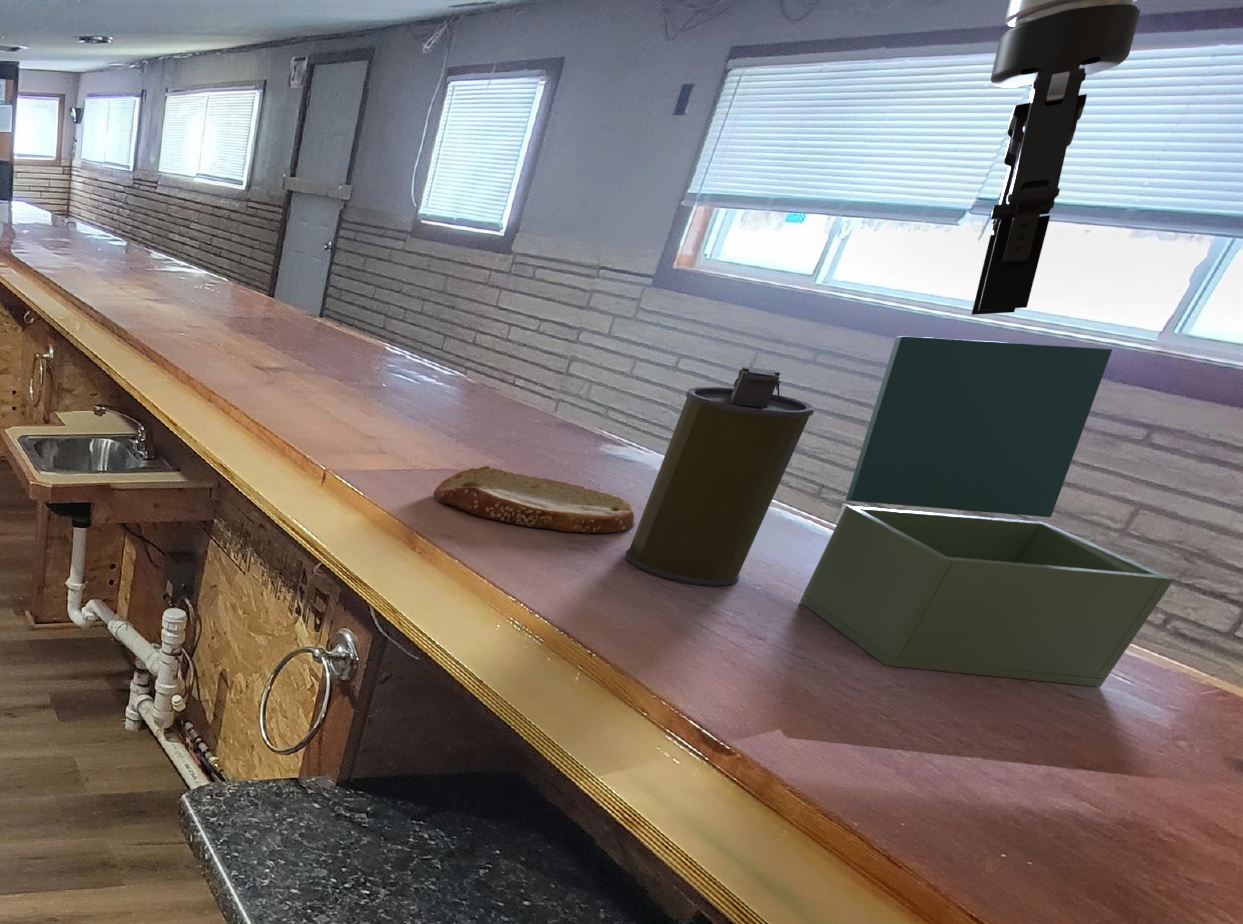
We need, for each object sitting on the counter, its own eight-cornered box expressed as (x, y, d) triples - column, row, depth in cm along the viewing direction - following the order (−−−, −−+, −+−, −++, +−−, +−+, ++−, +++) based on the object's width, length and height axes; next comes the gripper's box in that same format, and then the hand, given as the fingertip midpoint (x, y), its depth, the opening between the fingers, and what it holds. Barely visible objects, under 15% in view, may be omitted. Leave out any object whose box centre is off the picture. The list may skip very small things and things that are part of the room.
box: (1100, 687, 81) (1175, 579, 76) (884, 665, 83) (943, 559, 78) (986, 619, 93) (1044, 521, 88) (799, 601, 95) (845, 505, 90)
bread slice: (649, 528, 112) (661, 497, 110) (534, 545, 106) (545, 512, 104) (525, 482, 126) (534, 453, 124) (417, 494, 120) (425, 464, 118)
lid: (1113, 349, 83) (1067, 352, 88) (902, 335, 85) (867, 340, 90) (1051, 517, 87) (1010, 513, 92) (850, 500, 89) (820, 497, 94)
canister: (740, 595, 96) (834, 388, 86) (622, 570, 100) (697, 371, 90) (736, 561, 104) (821, 369, 94) (627, 540, 108) (697, 354, 98)
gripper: (992, 62, 86) (934, 318, 92) (1012, -12, 68) (938, 310, 75) (1118, 40, 81) (1047, 311, 88) (1174, -45, 64) (1080, 302, 70)
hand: (996, 311), depth 81 cm, fingers open, 13 cm apart
